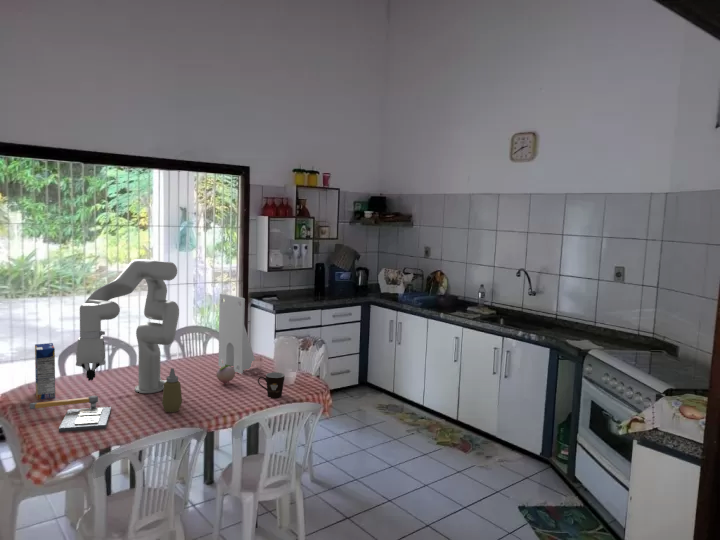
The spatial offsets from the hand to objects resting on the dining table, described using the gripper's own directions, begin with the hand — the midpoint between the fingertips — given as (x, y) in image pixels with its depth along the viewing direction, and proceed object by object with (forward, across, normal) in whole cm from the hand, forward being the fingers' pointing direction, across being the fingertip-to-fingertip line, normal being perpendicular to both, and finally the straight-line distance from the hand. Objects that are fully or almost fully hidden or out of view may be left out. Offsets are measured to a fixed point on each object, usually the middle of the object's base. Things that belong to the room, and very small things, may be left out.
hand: (90, 379), depth 225 cm
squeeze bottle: (+15, -31, 0) cm, 35 cm away
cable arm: (+12, +10, -5) cm, 17 cm away
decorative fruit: (+16, -56, -32) cm, 66 cm away
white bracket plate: (+16, -66, -58) cm, 89 cm away
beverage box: (+15, +22, -30) cm, 41 cm away
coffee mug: (+16, -75, -11) cm, 77 cm away
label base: (+15, +1, +3) cm, 16 cm away
